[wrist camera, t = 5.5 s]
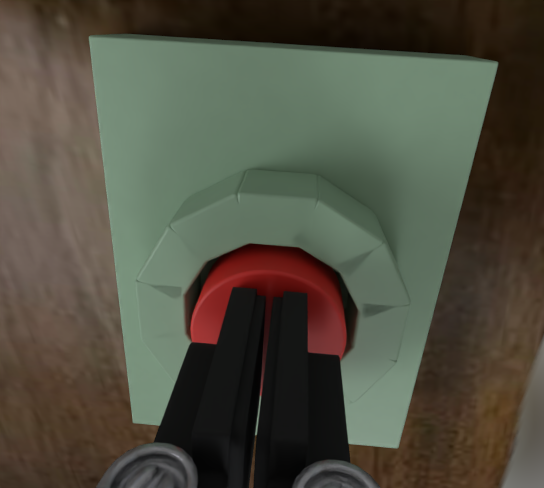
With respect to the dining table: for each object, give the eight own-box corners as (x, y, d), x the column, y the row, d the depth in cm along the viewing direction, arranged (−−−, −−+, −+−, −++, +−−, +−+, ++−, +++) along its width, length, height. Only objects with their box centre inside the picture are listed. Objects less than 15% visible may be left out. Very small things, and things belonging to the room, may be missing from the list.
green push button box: (124, 33, 12) (45, 37, 8) (467, 55, 12) (539, 69, 8) (152, 377, 17) (112, 470, 14) (387, 399, 17) (409, 500, 13)
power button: (203, 230, 11) (187, 264, 9) (350, 241, 11) (357, 278, 9) (205, 345, 13) (191, 391, 11) (333, 357, 13) (336, 404, 11)
